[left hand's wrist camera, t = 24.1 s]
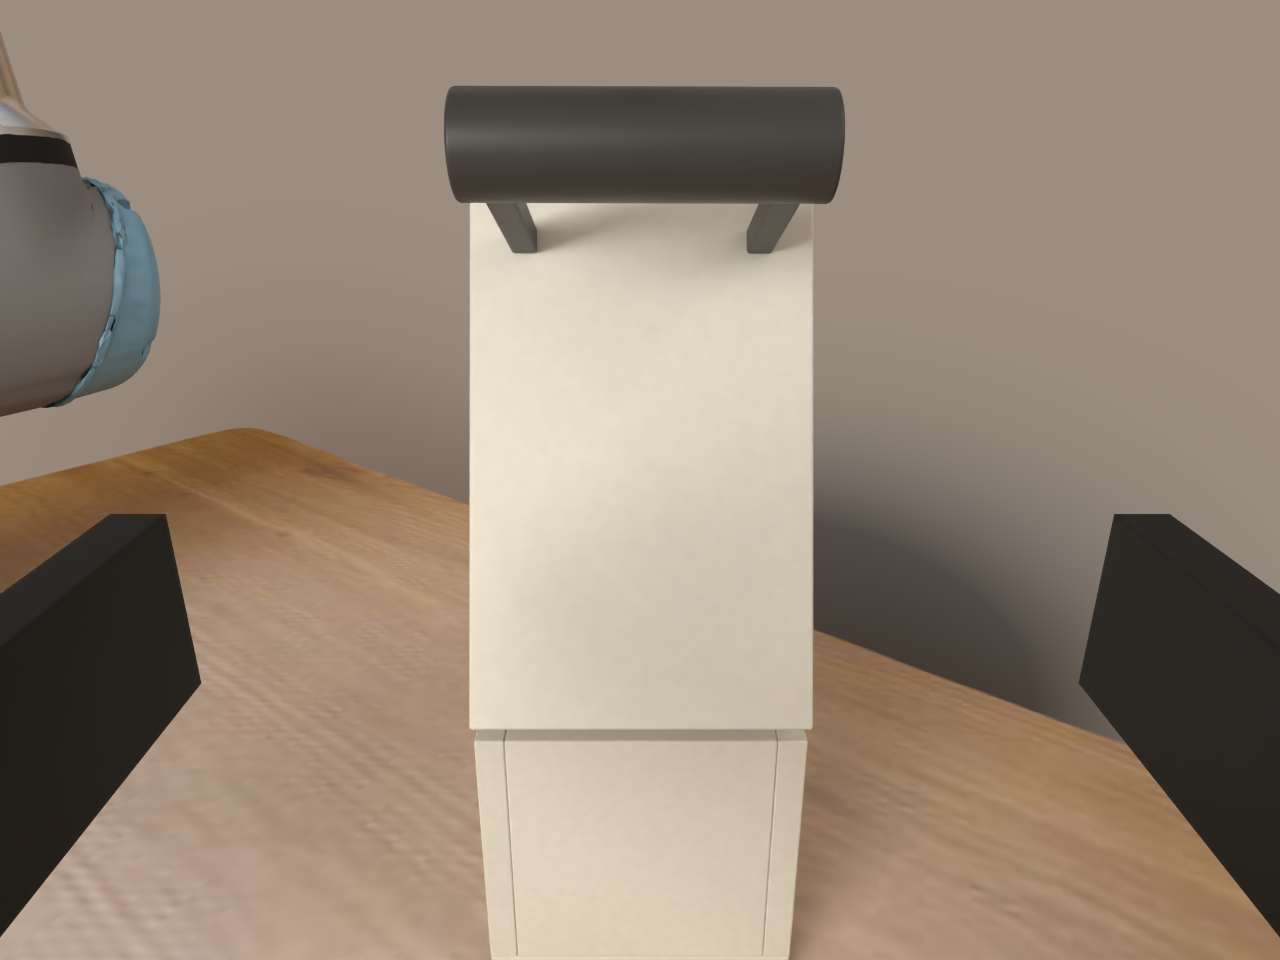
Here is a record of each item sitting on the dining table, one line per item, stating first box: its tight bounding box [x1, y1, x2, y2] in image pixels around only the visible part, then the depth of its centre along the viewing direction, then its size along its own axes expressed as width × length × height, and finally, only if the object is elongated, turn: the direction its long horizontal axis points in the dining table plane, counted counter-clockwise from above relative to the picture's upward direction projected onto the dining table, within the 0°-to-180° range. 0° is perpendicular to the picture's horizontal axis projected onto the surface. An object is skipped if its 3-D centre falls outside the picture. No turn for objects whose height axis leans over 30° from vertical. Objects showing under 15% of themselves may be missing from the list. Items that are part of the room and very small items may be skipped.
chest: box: [474, 730, 808, 960], centre depth 34 cm, size 15×9×9 cm, turn 0°
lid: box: [444, 86, 845, 730], centre depth 21 cm, size 16×9×9 cm
